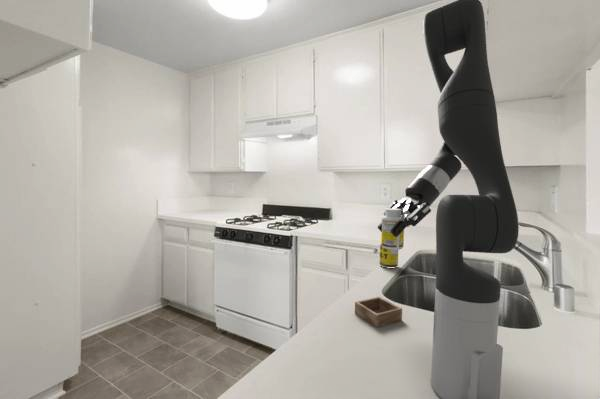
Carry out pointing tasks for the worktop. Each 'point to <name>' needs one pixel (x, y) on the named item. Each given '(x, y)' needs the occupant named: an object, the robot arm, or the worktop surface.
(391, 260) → the supplement bottle
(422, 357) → the worktop surface
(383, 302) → the wooden box
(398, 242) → the supplement bottle
